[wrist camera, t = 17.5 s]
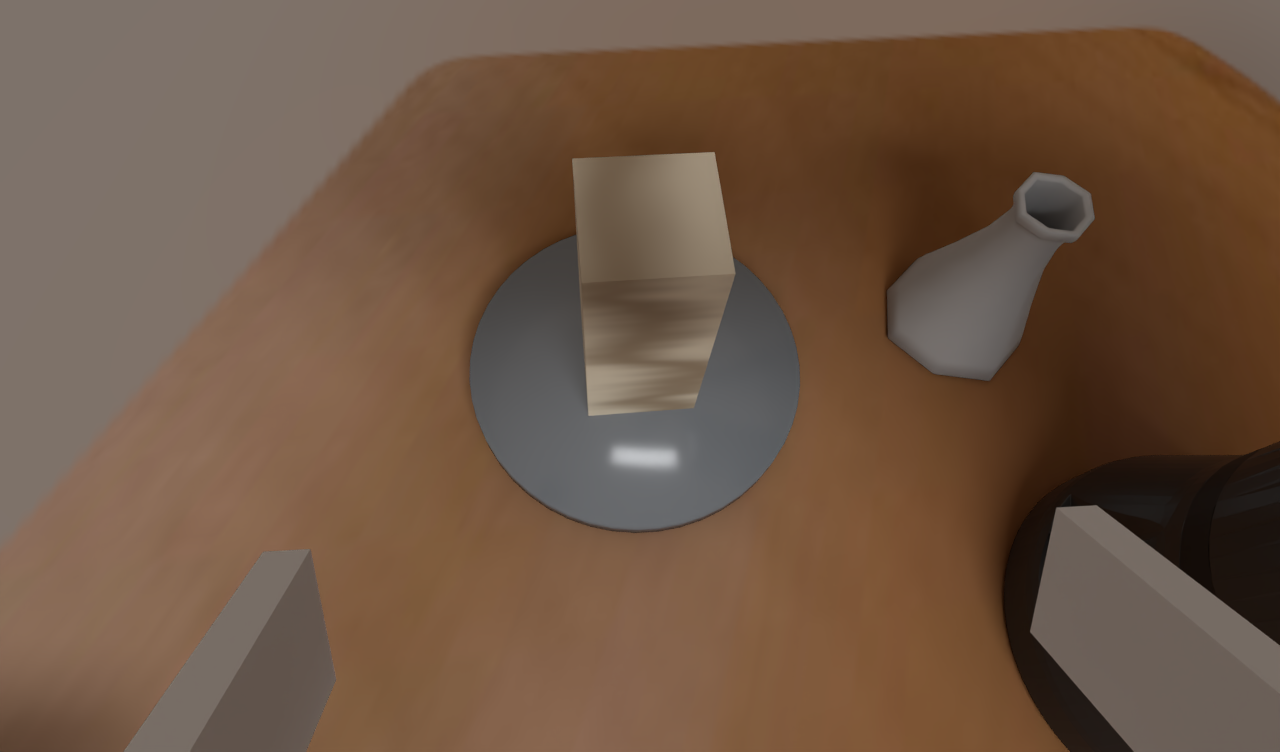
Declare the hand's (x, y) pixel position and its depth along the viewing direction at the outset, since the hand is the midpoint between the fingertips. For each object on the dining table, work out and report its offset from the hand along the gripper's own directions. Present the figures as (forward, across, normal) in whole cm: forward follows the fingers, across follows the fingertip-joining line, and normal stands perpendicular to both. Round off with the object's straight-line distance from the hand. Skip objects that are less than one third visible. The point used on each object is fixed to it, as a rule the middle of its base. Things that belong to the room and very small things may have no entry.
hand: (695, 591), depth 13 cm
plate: (+24, +1, -4) cm, 24 cm away
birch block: (+23, +1, -4) cm, 23 cm away
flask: (+25, +18, -3) cm, 31 cm away
